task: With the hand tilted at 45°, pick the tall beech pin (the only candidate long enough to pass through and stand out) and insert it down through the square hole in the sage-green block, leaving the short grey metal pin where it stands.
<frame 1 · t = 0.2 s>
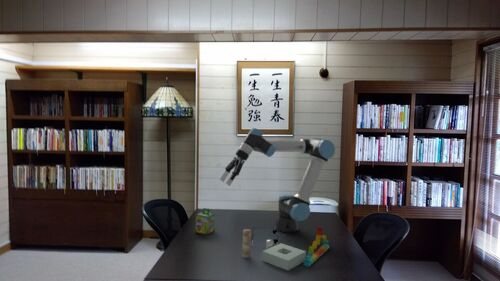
hand: (224, 182, 192), 36 cm above the table, tool tilted 35°, fingers open, 13 cm apart
chart: (317, 256, 180), on the table
tall beech pin: (246, 256, 177), on the table
short metal pin: (269, 249, 188), on the table
chalk box: (205, 232, 214), on the table
hole block: (284, 260, 173), on the table
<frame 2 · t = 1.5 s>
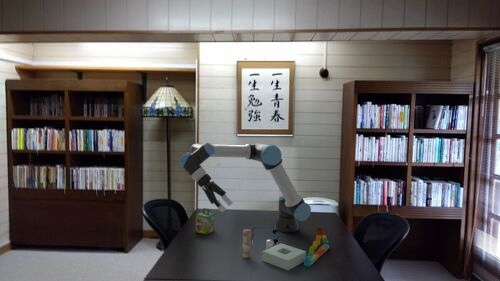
hand: (227, 207, 177), 25 cm above the table, tool tilted 45°, fingers open, 13 cm apart
nothing on the table moved.
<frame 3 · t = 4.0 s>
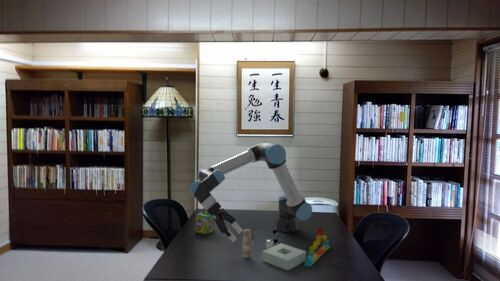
hand: (238, 236, 176), 11 cm above the table, tool tilted 45°, fingers open, 13 cm apart
nothing on the table moved.
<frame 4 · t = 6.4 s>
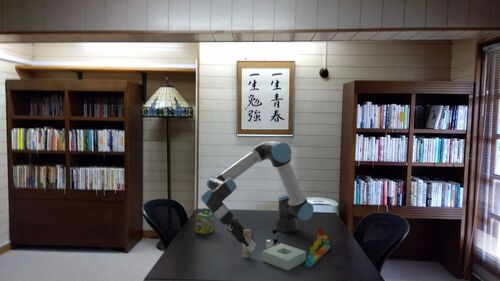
hand: (253, 248, 176), 5 cm above the table, tool tilted 45°, fingers closed on tall beech pin, 4 cm apart
tall beech pin: (246, 256, 177), on the table, touching gripper
everything else where it was.
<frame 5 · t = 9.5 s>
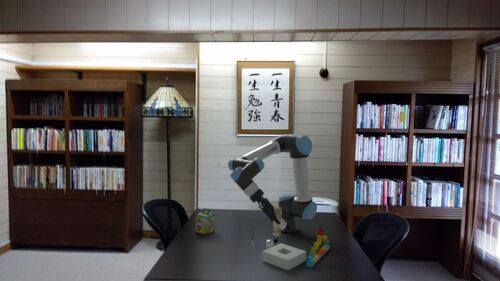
hand: (284, 227, 171), 18 cm above the table, tool tilted 45°, fingers closed on tall beech pin, 4 cm apart
tall beech pin: (276, 235, 172), point 13 cm above the table, touching gripper
everything else where it was.
when the fingers open (7 cm above the table, at t = 12.8 s): tall beech pin drops 2 cm, resting in hole block.
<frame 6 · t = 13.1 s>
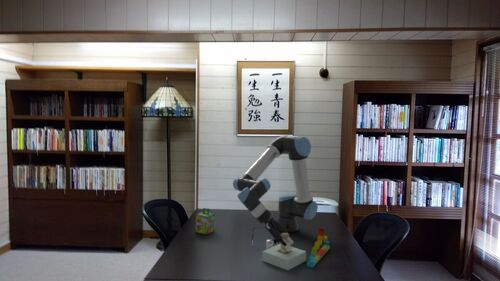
hand: (291, 246, 172), 8 cm above the table, tool tilted 45°, fingers open, 8 cm apart
tall beech pin: (283, 260, 173), resting in hole block
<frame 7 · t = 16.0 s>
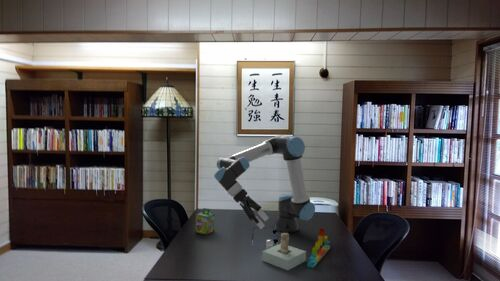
hand: (265, 223, 174), 19 cm above the table, tool tilted 45°, fingers open, 13 cm apart
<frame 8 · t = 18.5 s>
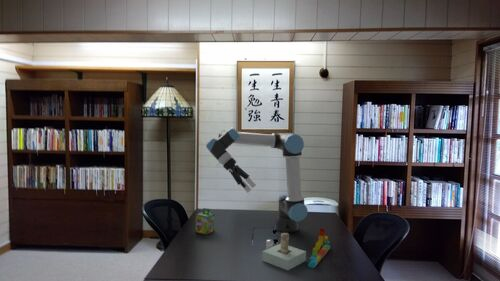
hand: (252, 188, 192), 33 cm above the table, tool tilted 45°, fingers open, 13 cm apart
at the end: tall beech pin 0.0 cm off-centre on the hole block, point 0.0 cm above the hole block's base; tall beech pin tilted 0°; short metal pin moved 0.1 cm from its start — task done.
